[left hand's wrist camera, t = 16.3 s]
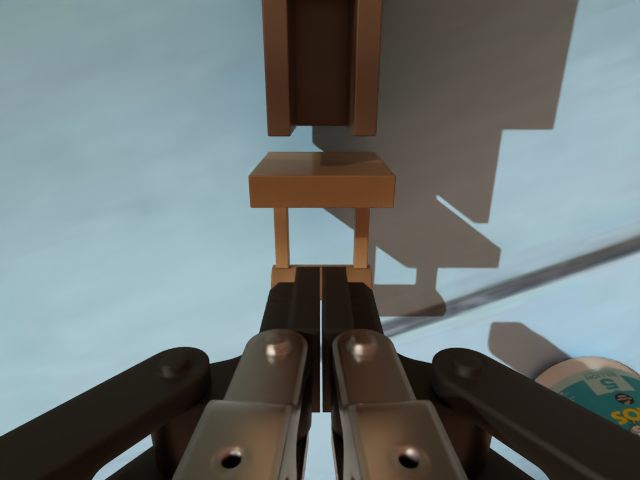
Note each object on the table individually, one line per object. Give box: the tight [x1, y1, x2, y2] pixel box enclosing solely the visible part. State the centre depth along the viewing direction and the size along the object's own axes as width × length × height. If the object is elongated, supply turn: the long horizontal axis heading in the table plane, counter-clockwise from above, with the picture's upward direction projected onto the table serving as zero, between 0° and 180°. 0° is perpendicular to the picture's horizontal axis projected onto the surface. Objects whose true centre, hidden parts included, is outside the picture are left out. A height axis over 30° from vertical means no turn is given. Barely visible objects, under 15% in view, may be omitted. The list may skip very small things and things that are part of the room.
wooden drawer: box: [249, 0, 396, 300], centre depth 15 cm, size 23×5×6 cm, turn 0°
